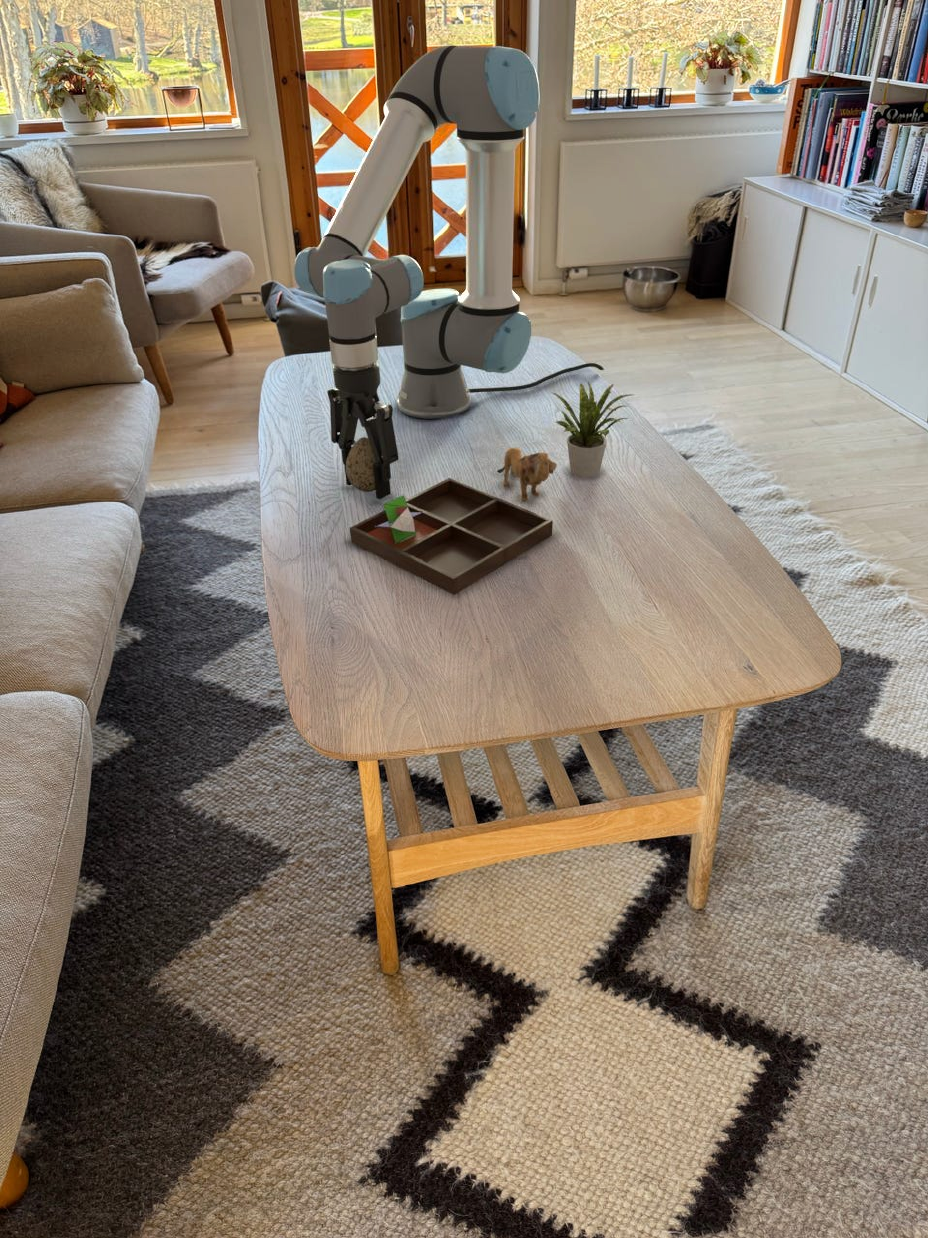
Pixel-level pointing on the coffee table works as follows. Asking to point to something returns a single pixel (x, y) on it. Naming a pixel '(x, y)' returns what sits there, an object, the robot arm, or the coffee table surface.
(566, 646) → the coffee table surface
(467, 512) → the sorting tray
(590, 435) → the house plant
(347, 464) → the decorative egg
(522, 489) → the lion figurine
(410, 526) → the geometric puzzle
